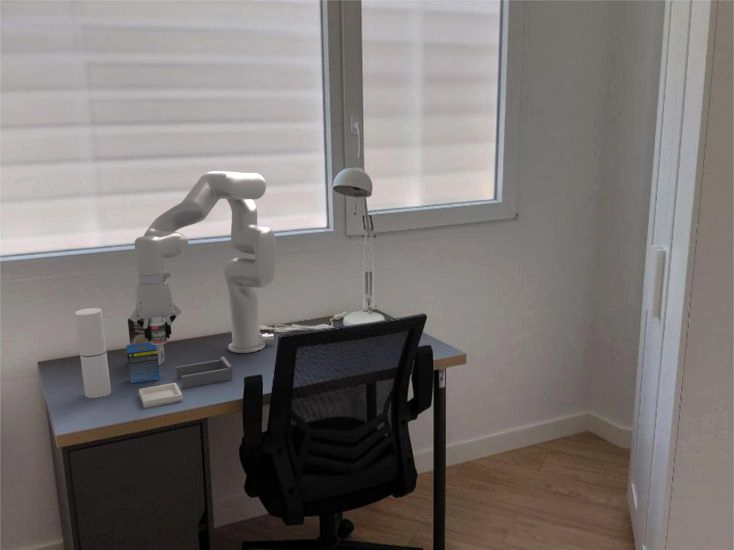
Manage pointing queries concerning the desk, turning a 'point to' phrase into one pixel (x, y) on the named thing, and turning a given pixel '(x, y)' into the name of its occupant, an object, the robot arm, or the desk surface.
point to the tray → (160, 395)
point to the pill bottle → (157, 330)
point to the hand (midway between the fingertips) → (158, 338)
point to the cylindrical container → (93, 352)
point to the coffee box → (142, 338)
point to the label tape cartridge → (143, 362)
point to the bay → (204, 372)
